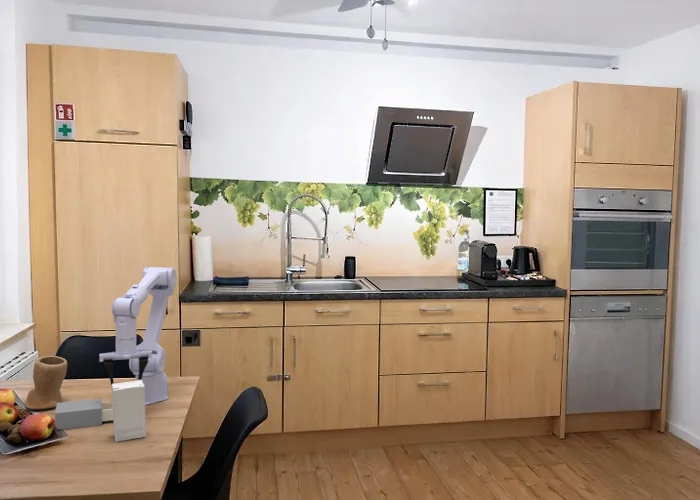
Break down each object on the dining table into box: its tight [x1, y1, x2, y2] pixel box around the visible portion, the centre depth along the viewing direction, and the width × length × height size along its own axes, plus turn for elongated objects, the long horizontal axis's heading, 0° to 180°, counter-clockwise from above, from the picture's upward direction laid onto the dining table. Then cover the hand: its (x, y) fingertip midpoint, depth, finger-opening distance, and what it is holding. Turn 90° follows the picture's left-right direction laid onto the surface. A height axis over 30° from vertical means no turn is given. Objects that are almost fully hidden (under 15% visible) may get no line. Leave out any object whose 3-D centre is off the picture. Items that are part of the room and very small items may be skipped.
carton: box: [54, 398, 103, 431], centre depth 173 cm, size 12×9×5 cm
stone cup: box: [25, 355, 68, 410], centre depth 187 cm, size 15×12×15 cm
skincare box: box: [111, 379, 147, 442], centre depth 163 cm, size 8×6×15 cm
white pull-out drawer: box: [101, 401, 113, 422], centre depth 176 cm, size 13×9×9 cm
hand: (126, 383), depth 177 cm, fingers open, 7 cm apart
